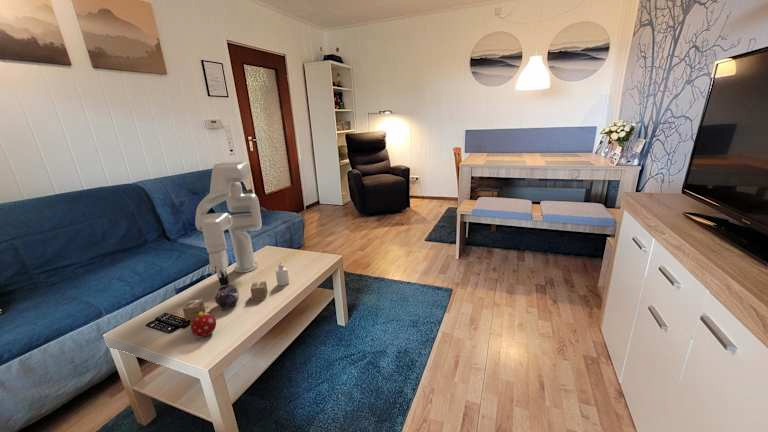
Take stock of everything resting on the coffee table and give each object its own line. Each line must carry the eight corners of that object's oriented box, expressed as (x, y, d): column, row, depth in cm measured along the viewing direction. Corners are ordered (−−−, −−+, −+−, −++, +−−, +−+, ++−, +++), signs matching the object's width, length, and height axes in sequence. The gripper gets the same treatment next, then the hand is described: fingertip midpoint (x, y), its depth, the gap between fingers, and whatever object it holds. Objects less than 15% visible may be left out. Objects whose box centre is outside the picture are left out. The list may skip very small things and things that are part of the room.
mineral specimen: (221, 295, 146) (225, 277, 143) (241, 304, 146) (246, 286, 143) (207, 306, 137) (211, 288, 134) (228, 315, 137) (233, 297, 134)
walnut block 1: (254, 294, 150) (252, 282, 148) (267, 292, 151) (265, 280, 149) (252, 300, 144) (250, 288, 142) (266, 298, 146) (264, 286, 144)
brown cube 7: (190, 313, 136) (187, 300, 134) (205, 311, 137) (202, 298, 136) (185, 321, 131) (182, 308, 129) (201, 318, 132) (198, 306, 130)
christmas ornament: (214, 339, 118) (209, 316, 116) (189, 343, 117) (183, 320, 114) (220, 325, 126) (215, 304, 124) (197, 329, 125) (192, 307, 122)
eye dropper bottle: (280, 281, 161) (276, 260, 157) (290, 281, 160) (287, 260, 156) (276, 285, 156) (272, 264, 153) (286, 286, 156) (283, 264, 152)
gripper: (212, 241, 139) (220, 277, 145) (201, 254, 125) (210, 294, 131) (230, 239, 141) (237, 275, 146) (221, 252, 127) (230, 291, 133)
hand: (224, 284), depth 139 cm, fingers closed
